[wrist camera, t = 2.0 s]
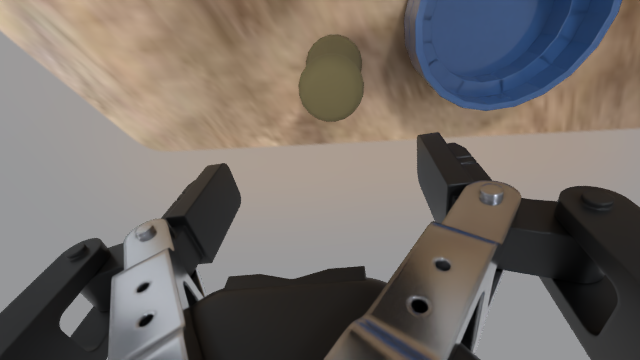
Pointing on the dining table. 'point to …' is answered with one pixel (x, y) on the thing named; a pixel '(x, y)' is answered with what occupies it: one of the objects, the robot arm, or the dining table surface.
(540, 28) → the bowl
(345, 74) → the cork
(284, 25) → the dining table surface
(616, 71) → the dining table surface
